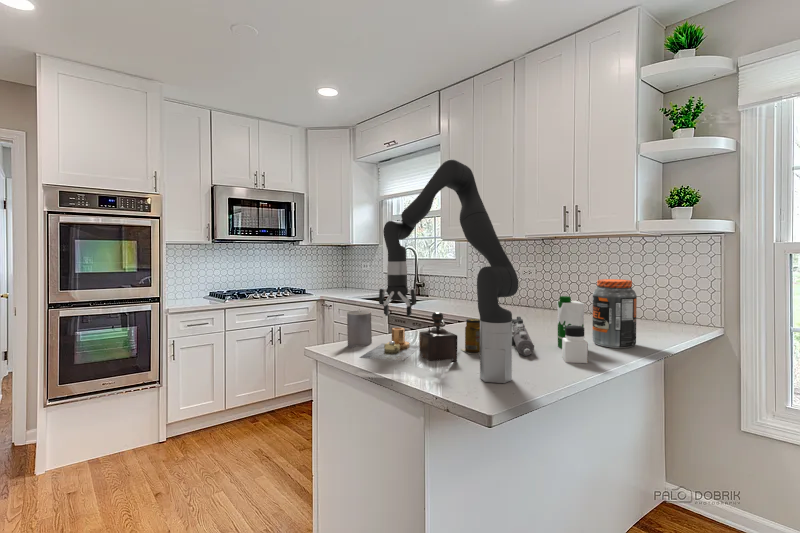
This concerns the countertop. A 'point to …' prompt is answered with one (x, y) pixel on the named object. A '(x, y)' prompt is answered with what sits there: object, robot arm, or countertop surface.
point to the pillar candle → (359, 328)
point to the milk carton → (568, 315)
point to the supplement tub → (614, 313)
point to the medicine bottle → (574, 345)
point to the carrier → (390, 352)
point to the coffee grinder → (438, 342)
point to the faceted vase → (400, 337)
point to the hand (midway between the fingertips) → (397, 315)
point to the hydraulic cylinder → (521, 337)
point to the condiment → (472, 336)
